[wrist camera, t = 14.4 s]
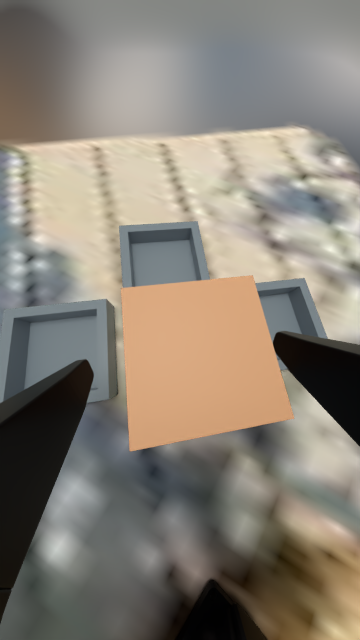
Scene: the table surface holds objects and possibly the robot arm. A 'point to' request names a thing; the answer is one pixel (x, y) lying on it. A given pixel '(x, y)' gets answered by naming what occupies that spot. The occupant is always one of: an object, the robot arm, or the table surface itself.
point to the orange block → (198, 361)
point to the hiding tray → (162, 254)
